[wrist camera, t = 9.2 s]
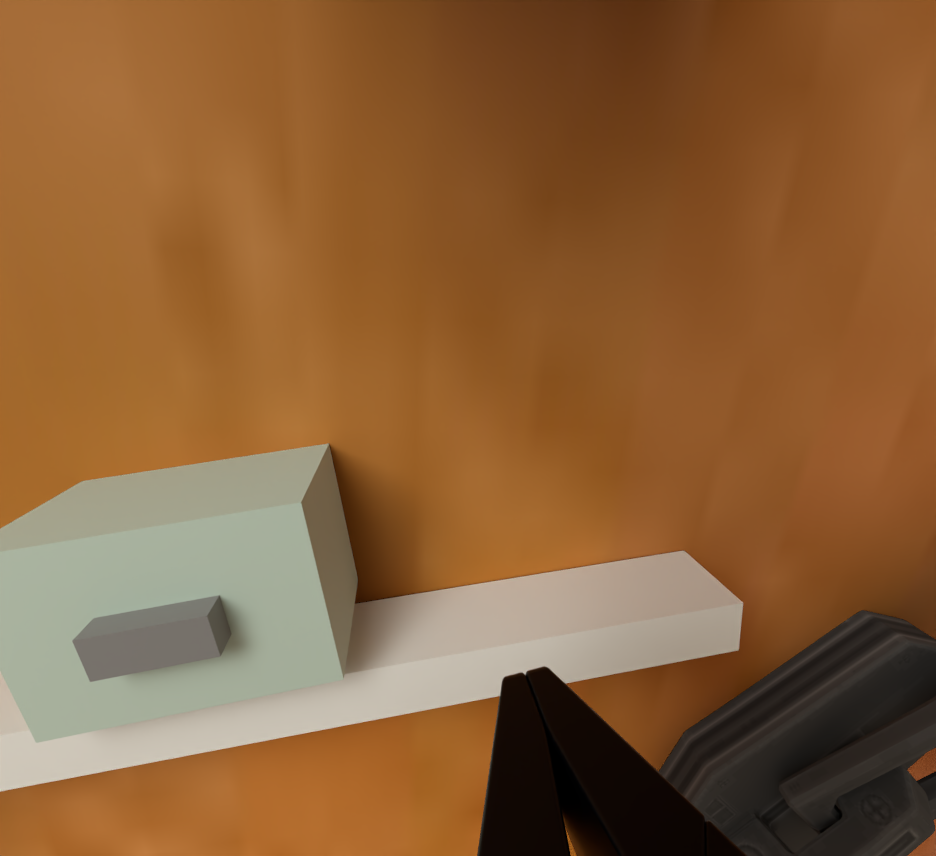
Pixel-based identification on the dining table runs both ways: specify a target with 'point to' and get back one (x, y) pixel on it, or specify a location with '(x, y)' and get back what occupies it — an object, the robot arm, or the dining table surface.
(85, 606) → the cabinet block
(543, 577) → the cleat board
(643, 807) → the robot arm
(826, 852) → the dark grey elongated piece
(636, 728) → the dining table surface
